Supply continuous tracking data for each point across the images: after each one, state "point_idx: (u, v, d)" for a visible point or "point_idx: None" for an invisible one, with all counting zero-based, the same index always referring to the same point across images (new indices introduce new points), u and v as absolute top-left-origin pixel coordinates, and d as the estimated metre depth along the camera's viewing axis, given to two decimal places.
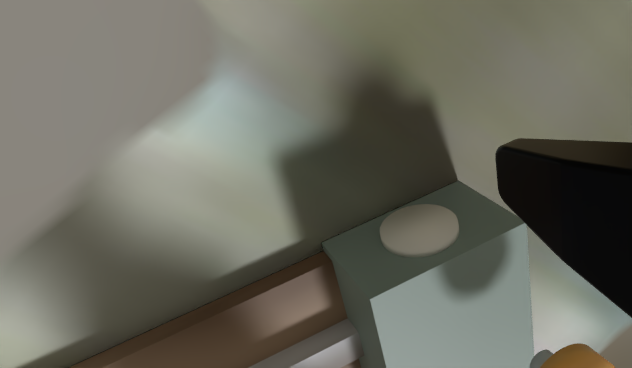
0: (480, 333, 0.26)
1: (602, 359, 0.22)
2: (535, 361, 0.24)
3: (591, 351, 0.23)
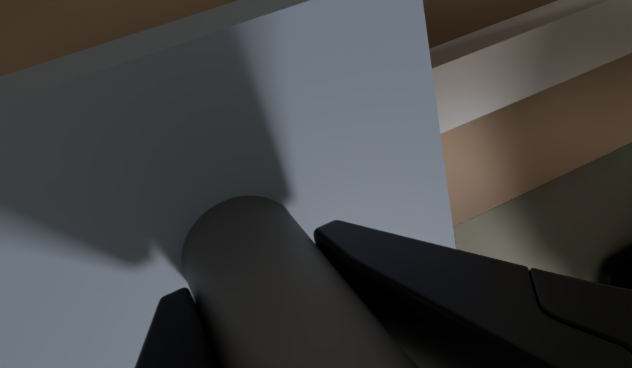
0: None
1: None
2: None
3: None
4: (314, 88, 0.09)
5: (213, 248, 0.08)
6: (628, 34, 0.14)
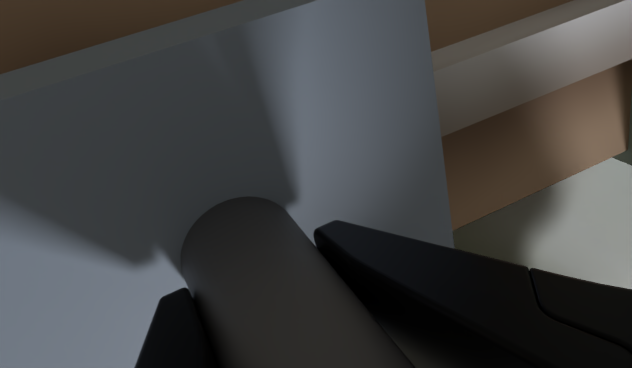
0: None
1: None
2: None
3: None
4: (316, 90, 0.09)
5: (213, 249, 0.08)
6: None
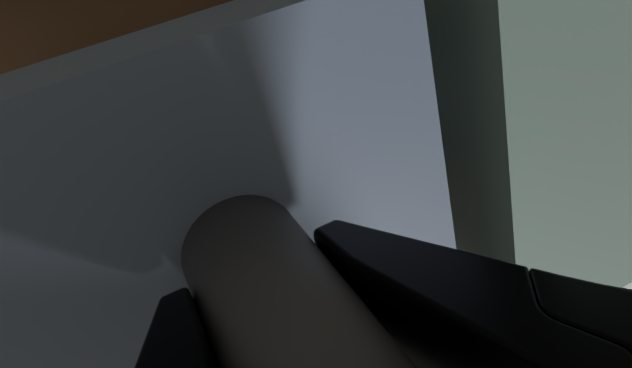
0: None
1: None
2: None
3: None
4: (314, 87, 0.09)
5: (212, 247, 0.08)
6: None
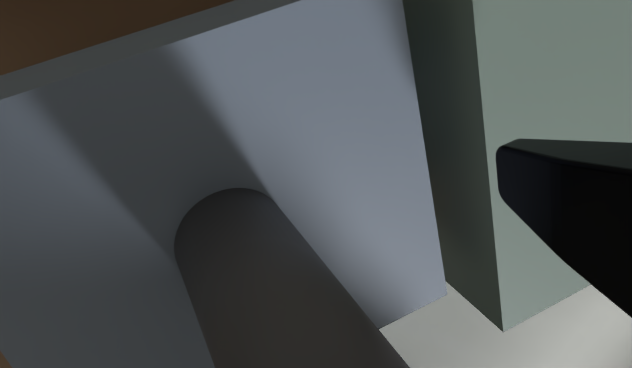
0: None
1: None
2: None
3: None
4: (299, 86, 0.09)
5: (203, 236, 0.08)
6: None
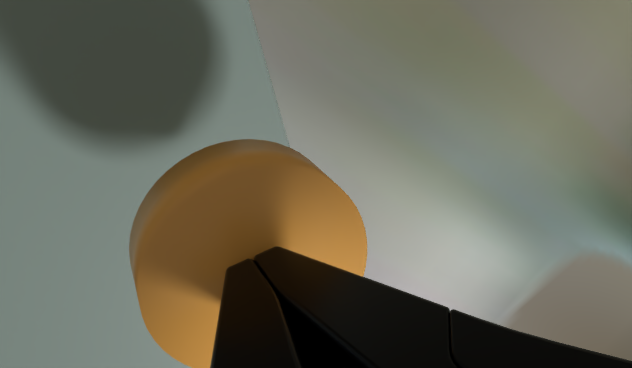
0: None
1: (302, 165, 0.08)
2: None
3: (287, 153, 0.09)
4: None
5: None
6: None
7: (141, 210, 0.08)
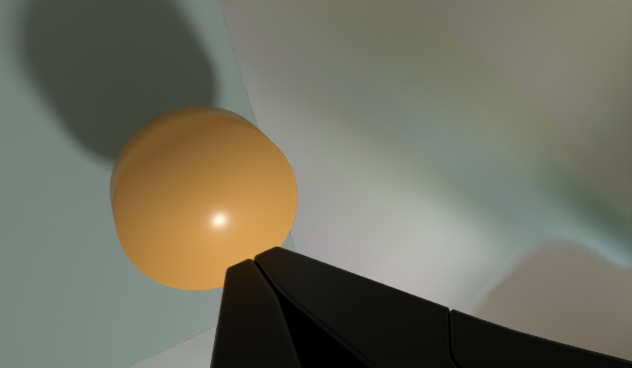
0: None
1: (241, 123, 0.11)
2: None
3: (232, 116, 0.11)
4: None
5: None
6: None
7: (118, 159, 0.11)
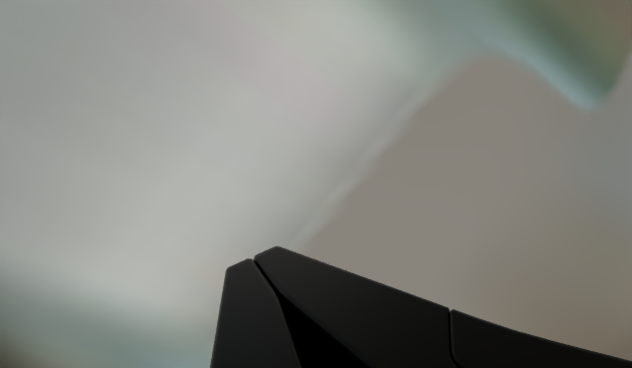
0: None
1: None
2: None
3: None
4: None
5: None
6: None
7: None
